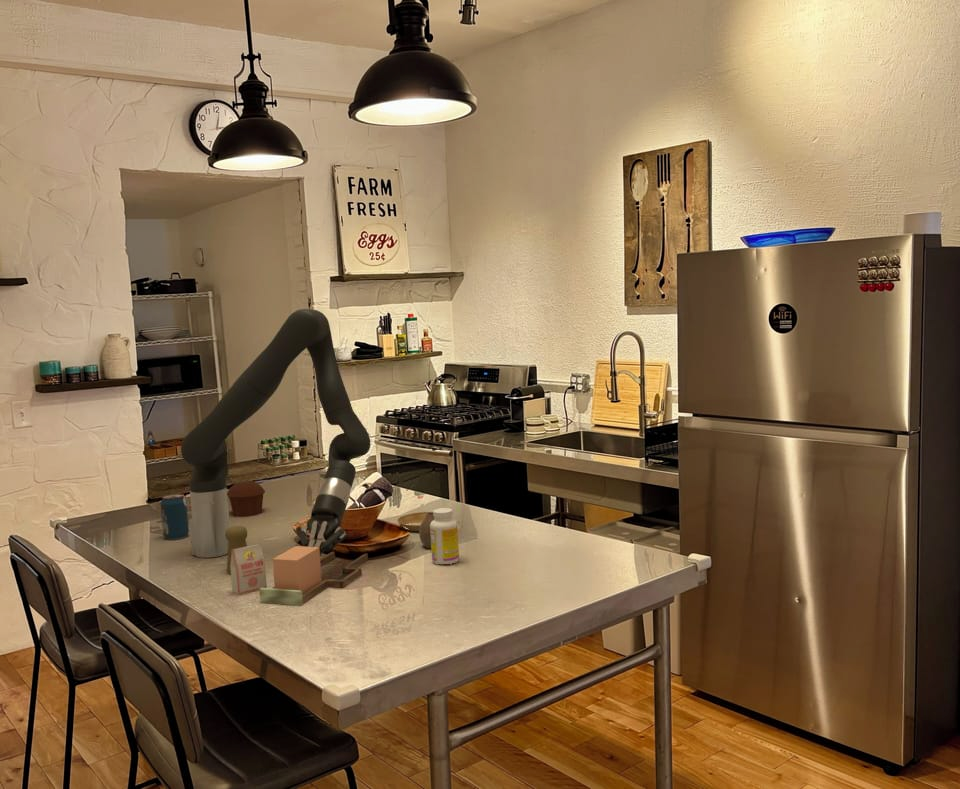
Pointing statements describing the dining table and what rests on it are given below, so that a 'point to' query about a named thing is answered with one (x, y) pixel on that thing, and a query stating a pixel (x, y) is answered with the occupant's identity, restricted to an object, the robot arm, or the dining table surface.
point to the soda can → (174, 516)
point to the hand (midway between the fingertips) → (310, 565)
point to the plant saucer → (412, 520)
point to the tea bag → (248, 569)
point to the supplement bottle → (444, 537)
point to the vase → (426, 530)
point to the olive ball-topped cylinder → (235, 541)
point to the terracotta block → (298, 569)
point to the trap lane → (296, 595)
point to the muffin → (246, 498)
